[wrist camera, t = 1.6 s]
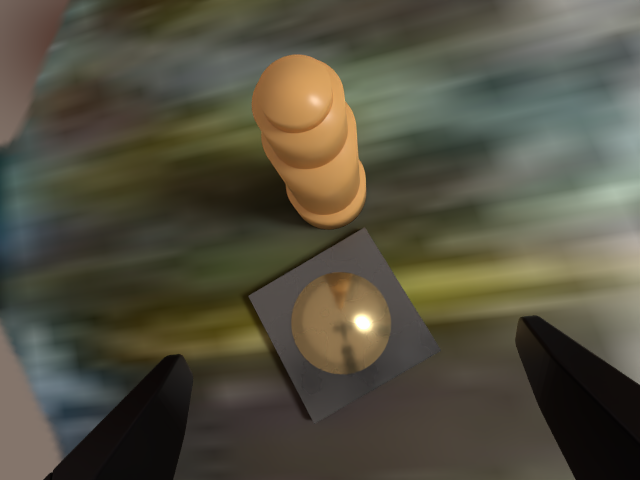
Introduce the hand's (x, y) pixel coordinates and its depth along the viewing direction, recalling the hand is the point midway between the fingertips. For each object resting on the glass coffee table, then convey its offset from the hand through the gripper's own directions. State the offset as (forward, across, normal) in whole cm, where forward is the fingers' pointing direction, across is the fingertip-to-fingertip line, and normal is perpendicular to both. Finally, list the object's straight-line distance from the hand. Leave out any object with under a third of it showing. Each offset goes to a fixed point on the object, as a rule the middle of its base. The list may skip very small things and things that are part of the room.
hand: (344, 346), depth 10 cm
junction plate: (+10, +1, +9) cm, 13 cm away
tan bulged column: (+16, +1, +3) cm, 16 cm away
